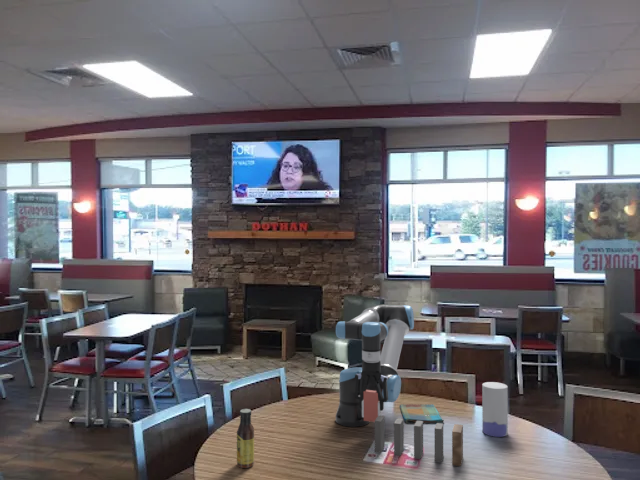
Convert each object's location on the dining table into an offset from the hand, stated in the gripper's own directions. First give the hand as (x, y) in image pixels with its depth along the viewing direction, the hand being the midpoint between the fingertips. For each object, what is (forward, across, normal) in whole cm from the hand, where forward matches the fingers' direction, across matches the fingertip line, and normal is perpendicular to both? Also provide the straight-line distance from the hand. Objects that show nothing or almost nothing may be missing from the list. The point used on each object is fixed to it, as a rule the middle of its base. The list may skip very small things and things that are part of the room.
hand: (371, 416), depth 207 cm
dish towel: (+10, +14, +34) cm, 38 cm away
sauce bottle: (+8, -36, -41) cm, 55 cm away
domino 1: (+8, +6, -10) cm, 15 cm away
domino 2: (+8, +14, -10) cm, 19 cm away
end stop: (+8, +35, -10) cm, 38 cm away
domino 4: (+8, +28, -10) cm, 31 cm away
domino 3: (+8, +21, -10) cm, 25 cm away
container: (+9, +47, +24) cm, 53 cm away
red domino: (+1, 0, 0) cm, 1 cm away
